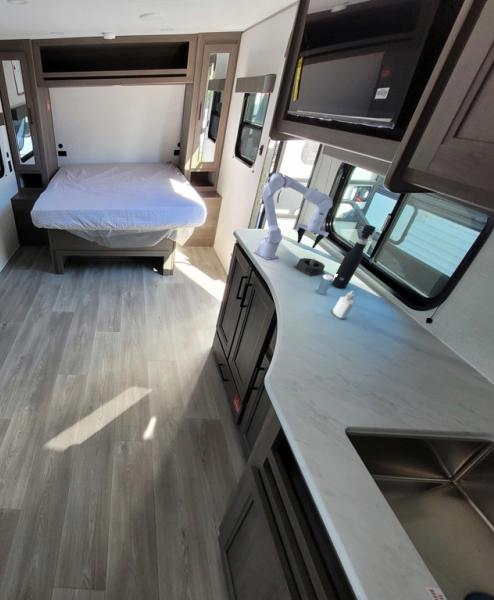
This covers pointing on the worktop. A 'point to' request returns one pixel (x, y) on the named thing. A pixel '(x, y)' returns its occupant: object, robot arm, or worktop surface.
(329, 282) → the milkshake
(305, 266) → the ring
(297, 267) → the stand
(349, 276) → the black thermos flask
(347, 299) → the eye dropper bottle
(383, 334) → the worktop surface
